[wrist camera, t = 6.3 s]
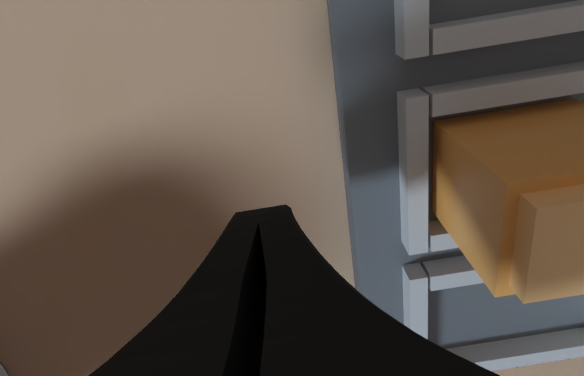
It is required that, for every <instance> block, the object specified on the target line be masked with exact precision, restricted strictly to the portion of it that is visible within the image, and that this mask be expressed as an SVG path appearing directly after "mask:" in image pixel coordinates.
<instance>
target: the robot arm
mask: <svg viewBox="0 0 584 376" xmlns="http://www.w3.org/2000/svg"><path fill="white" fill-rule="evenodd" d="M89 376H500V375H498V374H495V373H493V372H491V371H489V370H487V369H485V368H483V367H481V366H479V365H477V364H475V363H473V362H471V361H469V360H467V359H464V358H462V357H460V356H458V355H456V354H454V353H452V352H450V351H448V350H446V349H444V348H442V347H440V346H438V345H436V344H435V343H433V342H431V341H429V340H428V339H426V338H424V337H422V336H421V335H419V334H417V333H416V332H414V331H412V330H411V329H410V328H408V327H407V326H405V325H404V324H402V323H401V322H399V321H398V320H396V319H395V318H393V317H392V316H390V315H389V314H387V313H386V312H384V311H383V310H381V309H380V308H379V307H377V306H376V305H375V304H373V303H372V302H371V301H370V300H368V299H367V298H366V297H365V296H363V295H362V294H361V293H360V292H358V291H357V290H356V289H355V288H354V287H353V286H352V285H350V284H349V283H348V282H347V281H346V280H345V279H344V278H343V277H342V276H341V275H340V274H339V273H338V272H337V271H336V270H335V269H334V268H333V267H332V266H331V265H330V264H329V263H328V262H327V261H326V260H325V259H324V258H323V256H322V255H321V254H320V253H319V252H318V251H317V249H316V248H315V247H314V245H313V244H312V243H311V242H310V240H309V239H308V238H307V237H306V235H305V234H304V232H303V231H302V229H301V228H300V226H299V225H298V223H297V221H296V219H295V217H294V215H293V213H292V210H291V208H290V207H289V206H287V205H280V206H274V207H268V208H262V209H256V210H249V211H243V212H237V213H235V215H234V216H233V217H232V219H231V220H230V222H229V223H228V225H227V226H226V228H225V230H224V231H223V233H222V234H221V236H220V237H219V239H218V240H217V242H216V243H215V245H214V246H213V248H212V249H211V251H210V252H209V254H208V255H207V256H206V258H205V259H204V261H203V262H202V264H201V265H200V266H199V268H198V269H197V270H196V272H195V273H194V274H193V275H192V277H191V278H190V279H189V280H188V282H187V283H186V284H185V285H184V287H183V288H182V289H181V290H180V292H179V293H178V294H177V295H176V296H175V297H174V298H173V299H172V301H171V302H170V303H169V304H168V305H167V306H166V307H165V308H164V309H163V310H162V311H161V312H160V313H159V314H158V315H157V316H156V317H155V318H154V319H153V320H152V321H151V322H150V323H149V324H148V325H147V326H146V327H145V328H144V329H143V330H142V331H141V332H139V333H138V334H137V335H136V336H135V337H134V338H133V339H132V340H130V341H129V342H128V343H127V344H126V345H125V346H124V347H122V348H121V349H120V350H119V351H118V352H117V353H116V354H115V355H113V356H112V357H111V358H110V359H109V360H108V361H106V362H105V363H104V364H103V365H102V366H100V367H99V368H98V369H96V370H95V371H94V372H93V373H91V374H90V375H89Z"/></svg>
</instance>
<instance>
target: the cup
mask: <svg viewBox="0 0 584 376" xmlns="http://www.w3.org/2000/svg"><path fill="white" fill-rule="evenodd" d="M0 376H8V374H7V372H6V371H5V369H4V367H3V366H2V365H1V363H0Z"/></svg>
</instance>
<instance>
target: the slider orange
mask: <svg viewBox="0 0 584 376" xmlns="http://www.w3.org/2000/svg"><path fill="white" fill-rule="evenodd" d="M432 211H433V213H434V214H435V215H436V217H437V218H438V220H439V221H440V222H441V224H442V225H443V226H444V228H445V229H446V231H447V232H448V233H449V235H450V236H451V238H452V239H453V240H454V242H455V243H456V244H457V246H458V247H459V249H460V250H461V251H462V253H463V254H464V256H465V257H466V258H467V260H468V261H469V262H470V264H471V265H472V267H473V268H474V269H475V271H476V272H477V274H478V275H479V276H480V278H481V279H482V280H483V282H484V283H485V285H486V286H487V287H488V289H489V290H490V292H491V293H492V294H493V296H494V297H502V296H508V295H514V294H516V295H517V296H518V298H519V299H520V300H521V301H522V303H523V304H526V303H532V302H539V301H545V300H551V299H558V298H564V297H571V296H577V295H583V294H584V102H581V101H579V100H576V99H574V98H572V99H566V100H560V101H553V102H547V103H541V104H535V105H529V106H522V107H516V108H510V109H504V110H498V111H491V112H485V113H479V114H473V115H467V116H460V117H454V118H448V119H442V120H436V121H433V196H432Z"/></svg>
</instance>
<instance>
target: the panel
mask: <svg viewBox="0 0 584 376" xmlns="http://www.w3.org/2000/svg"><path fill="white" fill-rule="evenodd" d="M327 5H328V16H329V26H330V36H331V46H332V56H333V66H334V77H335V87H336V97H337V107H338V117H339V127H340V138H341V148H342V158H343V168H344V178H345V189H346V199H347V209H348V219H349V229H350V239H351V250H352V260H353V270H354V280H355V289H356V290H357V291H358V292H360V293H361V294H362V295H363V296H365V297H366V298H367V299H368V300H370V301H371V302H372V303H373V304H375V305H376V306H377V307H379V308H380V309H381V310H383V311H384V312H386V313H387V314H389V315H390V316H392V317H393V318H395V319H396V320H398V321H399V322H401V323H402V324H404V325H405V326H407V327H408V328H410V329H411V330H412V331H414V332H416V333H417V334H419V335H421V336H422V337H424V338H426V339H428V340H429V341H431V342H433V343H435V344H436V345H438V346H440V347H442V348H444V349H446V350H448V351H450V352H452V353H454V354H456V355H458V356H460V357H462V358H464V359H467V360H469V361H471V362H473V363H475V364H477V365H479V366H481V367H483V368H485V369H487V370H489V371H495V370H501V369H507V368H514V367H520V366H527V365H533V364H539V363H546V362H552V361H558V360H565V359H571V358H578V357H584V294H583V295H577V296H571V297H564V298H558V299H551V300H545V301H539V302H532V303H526V304H523V303H522V301H521V300H520V299H519V298H518V296H517V295H516V294H514V295H508V296H502V297H494V296H493V294H492V293H491V292H490V290H489V289H488V287H487V286H486V285H485V283H484V282H483V280H482V279H481V278H480V276H479V275H478V274H477V272H476V271H475V269H474V268H473V267H472V265H471V264H470V262H469V261H468V260H467V258H466V257H465V256H464V254H463V253H462V251H461V250H460V249H459V247H458V246H457V244H456V243H455V242H454V240H453V239H452V238H451V236H450V235H449V233H448V232H447V231H446V229H445V228H444V226H443V225H442V224H441V222H440V221H439V220H438V218H437V217H436V215H435V214H434V213H433V211H432V196H433V121H436V120H442V119H448V118H454V117H460V116H467V115H473V114H479V113H485V112H491V111H498V110H504V109H510V108H516V107H522V106H529V105H535V104H541V103H547V102H553V101H560V100H566V99H572V98H574V99H576V100H579V101H581V102H584V0H327Z"/></svg>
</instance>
